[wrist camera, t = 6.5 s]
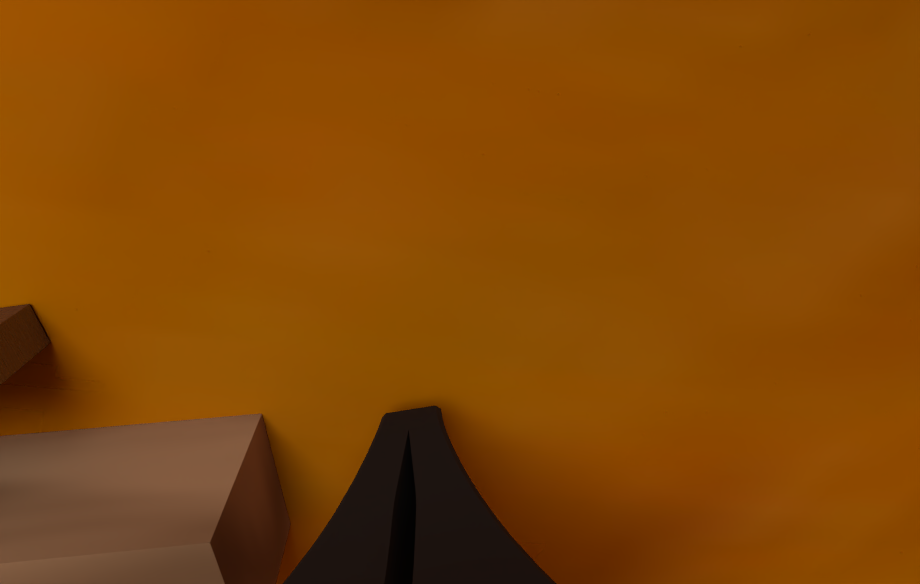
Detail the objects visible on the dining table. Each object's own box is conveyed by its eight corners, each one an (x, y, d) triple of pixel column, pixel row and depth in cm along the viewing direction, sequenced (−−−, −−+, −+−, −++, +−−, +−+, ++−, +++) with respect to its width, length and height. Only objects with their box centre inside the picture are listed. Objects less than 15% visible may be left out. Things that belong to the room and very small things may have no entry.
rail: (291, 518, 15) (255, 666, 12) (-71, 553, 14) (-229, 721, 11) (264, 408, 13) (209, 542, 10) (-150, 443, 13) (-371, 600, 9)
